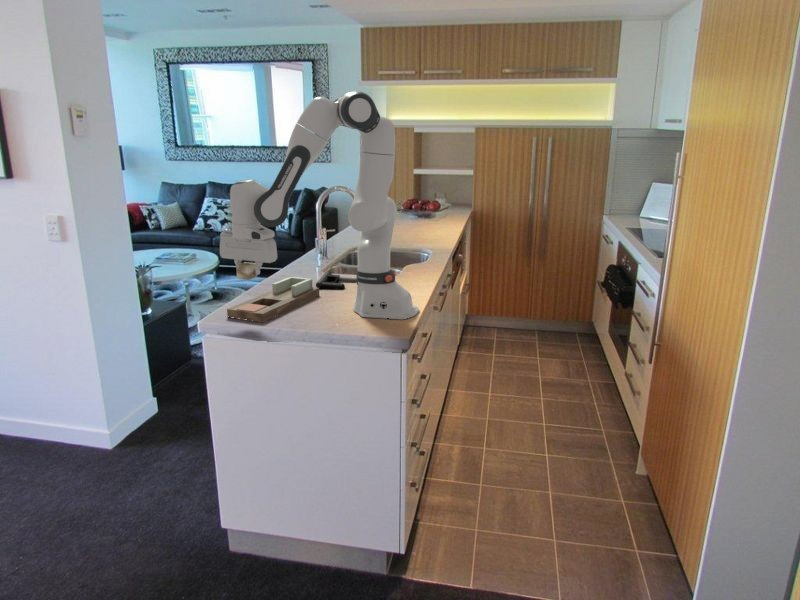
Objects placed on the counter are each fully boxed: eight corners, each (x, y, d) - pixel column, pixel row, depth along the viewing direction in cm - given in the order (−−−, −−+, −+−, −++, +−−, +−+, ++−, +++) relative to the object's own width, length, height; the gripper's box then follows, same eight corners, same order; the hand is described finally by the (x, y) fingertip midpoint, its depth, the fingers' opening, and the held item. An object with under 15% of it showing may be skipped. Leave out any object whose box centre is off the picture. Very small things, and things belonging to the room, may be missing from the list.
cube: (257, 276, 189) (256, 263, 188) (248, 279, 185) (247, 266, 184) (245, 275, 191) (244, 262, 190) (237, 278, 187) (236, 264, 186)
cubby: (312, 288, 218) (312, 278, 217) (295, 295, 207) (294, 286, 206) (290, 285, 221) (290, 276, 220) (272, 293, 211) (272, 283, 210)
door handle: (360, 273, 246) (322, 270, 247) (353, 285, 227) (312, 282, 227) (360, 281, 247) (322, 278, 248) (352, 293, 227) (312, 290, 228)
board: (319, 295, 219) (319, 287, 218) (263, 322, 187) (262, 313, 186) (287, 291, 224) (287, 284, 223) (227, 317, 192) (226, 309, 191)
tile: (267, 306, 194) (266, 305, 194) (254, 312, 188) (254, 311, 188) (249, 304, 196) (249, 303, 196) (236, 309, 190) (236, 308, 190)
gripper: (213, 230, 186) (216, 272, 190) (267, 235, 179) (269, 278, 182) (226, 227, 192) (229, 268, 195) (278, 232, 184) (280, 274, 188)
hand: (249, 273), depth 189 cm, fingers closed on cube, 4 cm apart
